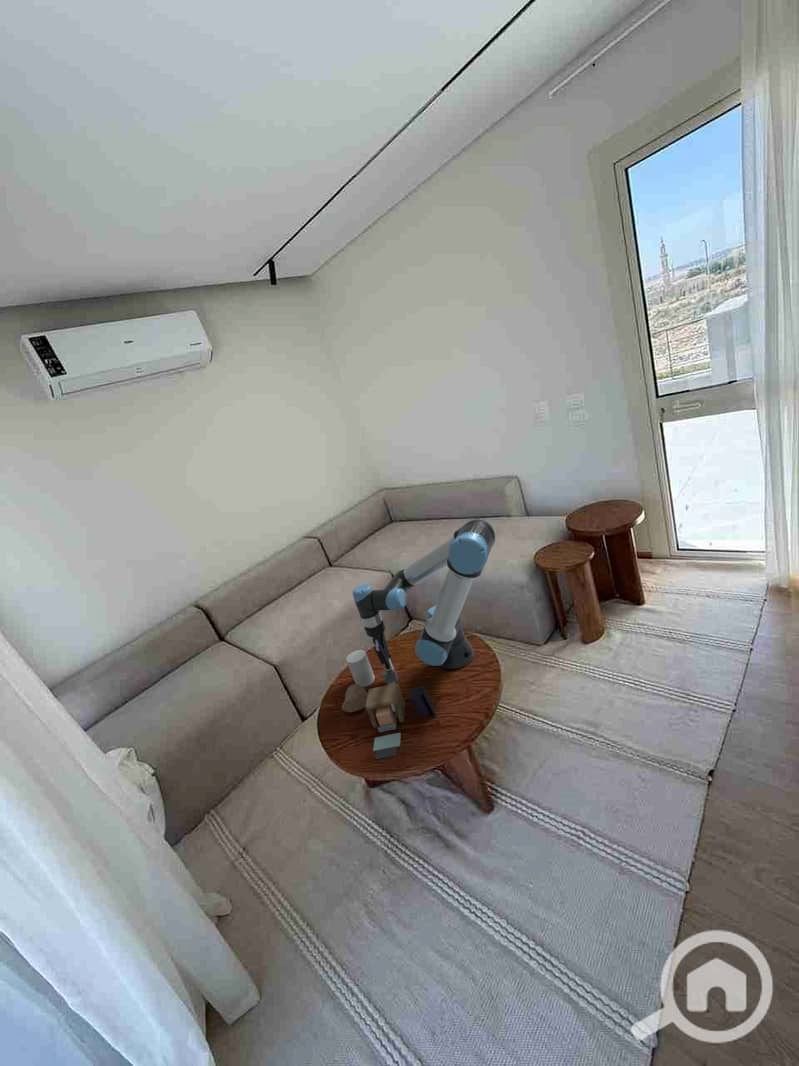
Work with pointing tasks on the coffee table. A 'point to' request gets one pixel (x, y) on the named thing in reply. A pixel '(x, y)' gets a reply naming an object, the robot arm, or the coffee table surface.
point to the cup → (360, 668)
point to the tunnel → (385, 701)
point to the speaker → (421, 701)
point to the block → (385, 715)
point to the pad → (387, 741)
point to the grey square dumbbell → (390, 679)
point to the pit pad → (386, 753)
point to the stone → (355, 698)
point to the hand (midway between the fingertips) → (391, 673)
